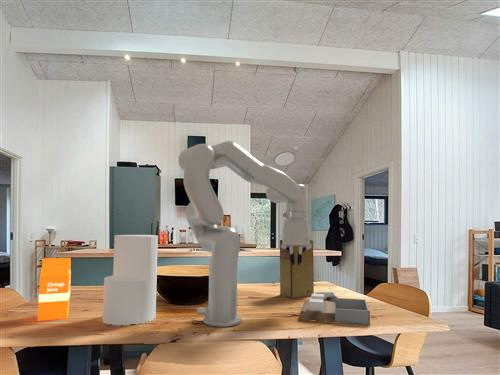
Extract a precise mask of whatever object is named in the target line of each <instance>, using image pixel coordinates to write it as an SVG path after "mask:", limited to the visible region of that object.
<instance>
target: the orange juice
mask: <svg viewBox="0 0 500 375" xmlns="http://www.w3.org/2000/svg"><path fill="white" fill-rule="evenodd" d="M71 260H72V258H71V257H54V258H53V257H51V258H49V257H47V258H42V264H41V269H40V276H39V277H40V278H39V293H38V307H37V308H38V311H37V321H38V322H40V321H51V320H52V321H53V320H66V319H68V316H69V314H70V299H71V298H70V296H71V278H72V271H71V268H72V267H71V266H72V265H71V263H72V262H71Z"/></svg>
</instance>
